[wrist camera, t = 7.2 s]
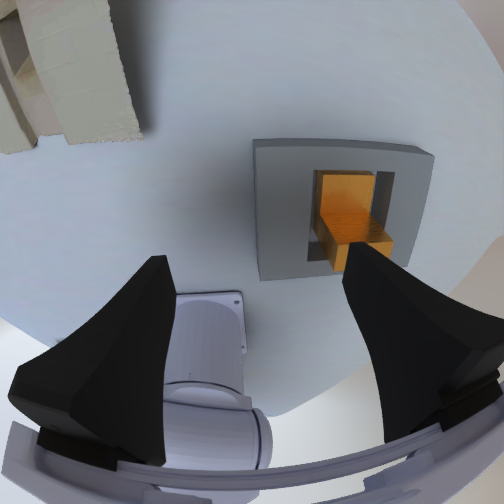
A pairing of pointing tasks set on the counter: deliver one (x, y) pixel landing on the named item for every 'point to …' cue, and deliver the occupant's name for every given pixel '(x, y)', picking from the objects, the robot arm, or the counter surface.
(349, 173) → the wooden step block
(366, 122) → the counter surface
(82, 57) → the beige footed plank
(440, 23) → the counter surface
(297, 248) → the well block
